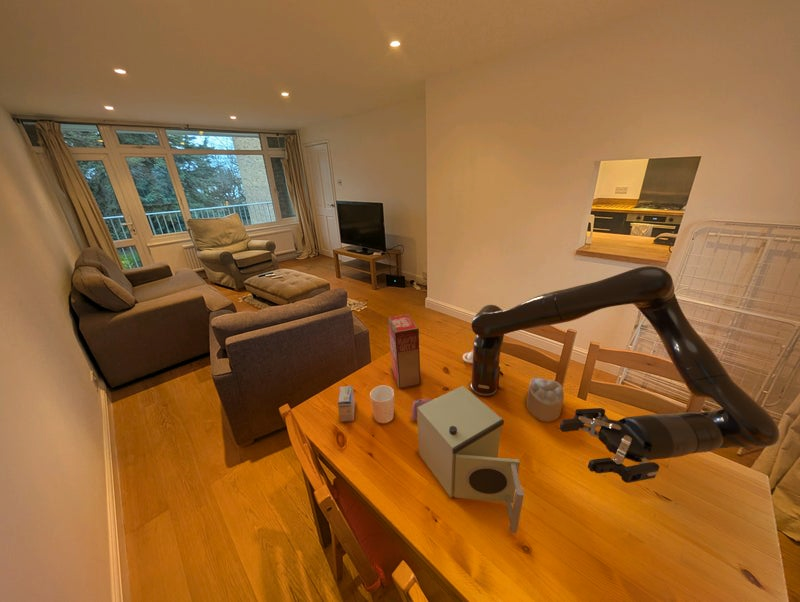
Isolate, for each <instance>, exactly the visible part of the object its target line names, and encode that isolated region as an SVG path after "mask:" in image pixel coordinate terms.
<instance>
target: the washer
mask: <svg viewBox="0 0 800 602" xmlns="http://www.w3.org/2000/svg"><path fill="white" fill-rule="evenodd" d="M416 419H417V443H418V445H417V448H418V455H419V456H420V459H422V461H423V462H424V463H425V465H426V466H427V467H428V469H429V470H430V472H431V473H432V474H433V475H434V477H435V478H436V479H437V481H438V482H439V484H440V486H441V487H442V488H443V489H444V491H445V492H446V494H447V495H448V496H449V497H450V498H451V499H452V498H453V497H454V490H455V465H456V454H460V455H472V456H484V457H496V458H499V450H500V441H501V433H502V426H504V424H505V420H504V419H503V418H502V417H501V416H500V415H498V414H497V412H495V411H494V410H493V409H492V408H490V407H489V406H488V405H486V403H484V402H483V401H482V400H480V398H478V397H477V396H476V395H475V394H474V393H473V392H471V391H470V390H469V389H468V388H467V387H465V386H464V385H461V386H459V387H456V388H454V389H453V390H450V391H449V392H446V393H444V394H442V395H440V396H438V397H436V398H434V399H432V400H431V401H429V402H427V403H425V404H423V405H421V406H419V407H417V415H416Z"/></svg>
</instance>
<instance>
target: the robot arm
mask: <svg viewBox="0 0 800 602" xmlns="http://www.w3.org/2000/svg"><path fill="white" fill-rule="evenodd" d="M625 305H634V306H635V307H636V308H637V309H638V310H639V312H640V313H641V314H642V315H643V316H644V317H645V318H646V319H647V321H648V322H649V323H650V325H651V326H652V328H653V329H654V331H655V333H656V335H657V336H658V337H659V339H660V341H661V343H662V345H663V347H664V348H665V351H666V353H667V355H668V357H669V359H670V361H671V362H672V364H673V366H674V368H675V369H676V372H677V373H678V374H679V376H680V378H681V380H682V382H683V383H684V384H685V386H686V387H687V389H688V391H689V392H690V394H691V395H693V396H694V397H696V398H701V399H703V398H704V399H711V400H713V401H714V402H715V403H716V404H718V406H720V408H718V409H717V408H716V409H712V410H705V411H700V412H693V411H692V412H689V411H687V412H677V413H653V414H645V415H644V414H643V415H634V416H625V417H623V418H620V419H618V420H614V419H610V418H609V417H608V416H607V415H606V409H605V408H603V407H593V408H577V409H575V412H574V416H573V418H567V419H562V420H561V421H560V424H559V430H560V432H561V433H568V432H575V431H579V430H580V431H583V432H586V433H588V434H589V436H592V437H594V438H597V439H598V440H599V441H600V442H601V443H602V444H603V445H604V446H605V448H606V449H607V450H608V452H609V453H612V454H613V455H614V457H613V459H612V457H601V458H592V459H590V460H589V461H588V464H587V468H588V470H589V472H593V473H595V474H608V473H613V474H617V475H618V476H619V477H621V480H622V481H623V482H624V483H626V484H631V483H636V482H642V481H646V480H652V479H655V478H656V477H657V475H658V472H659V470H660V465H659V464H658V463H657V462H654V461H655V460H664V459H671V458H672V459H673V458H680V457H685V456H688V455H693V454H702V453H703V454H704V453H709V452H714V451H716V450H718V449H719V450H720V449H742V448H743V449H744V448H745V449H746V448H766V447H772V446H774V445H776V444H778V442H779V440H780V435H781V434H780V429H779V426H778V424H777V422H776V421H775V419H774V418H773V417H772V415H771V414H770V413H769V412H768V411H767V410H766V409H765V408H764V407H763V406H762V405H761V404H759V402H757V401H756V400H755V399H754V398H753V397H752V396H750V395H749V394H748V392H746V391H745V390H744V389H743V388H741V386H739V385H738V384H737V383H736V382H735V381H734V380H733V379H732V377H731V375H730V374H729V373H728V372H727V369H726V368H725V367H724V365H723V364H722V362H721V361H720V359H719V358H718V357H717V355H716V354H715V352H714V351H713V350H712V349H711V347H710V346H709V345H708V344H707V342H706V341H705V340H704V339H703V338H702V336H700V334H699V333H698V332H697V331H696V330H695V328H694V327H693V326H692V324H691V323H690V322H689V320H688V319H687V317H686V315H685V314H684V312H683V310H682V308H681V306H680V304H679V301H678V299H677V296H676V293H675V283H674V279H673V277H672V275H671V274H670V273H669V271H667V270H666V269H664V268H662V267H659V266H654V265H653V266H652V265H651V266H650V265H646V266H640V267H636V268H632V269H630V270H627V271H624V272H621V273H618V274H615V275H612V276H609V277H606V278H604V279H601V280H597V281H593V282H588V283H585V284H581V285H576V286H572V287H568V288H564V289H563V288H562V289H558V290H554V291H550V292H546V293H542V294H539V295H536V296H534V297H532V298H529V299H527V300H526V301H523V302H521V303H519V304H517V305H515V306H513V307H510V308H507V309H504V310H503V309H502V308H501V307H500V306H498V305H495V304H486V305H484V306H483V307H482V308H481V309H479V310H478V312H477V313H476V314H475V315H474V317H473V318H472V321H471V330H472V332H473V333H474V334H475V337H474V341H473V346H472V348H473V349H472V350H473V363H472V364H471V366H472V367H471V379H470V381H471V382H470V389H471V391H472V393H473V394H476V395H478V396H481V397H492V396H494V395H495V394H496V393H497V391H498V389H499V385H500V377H501V376H504V375H505V374H504V373H503V372H502V371H501V366H500V359H501V350H502V346H503V343H504V339H505V338H504V337H505V335H506V334H509V333H513V332H517V331H524V330H529V329H535V328H541V327H547V326H553V325H558V324H564V323H568V322H572V321H576V320H579V319H582V318H585V317H586V316H588V315H590V314H592V313H595V312H597V311H599V310H603V309H606V308H612V307H618V306H625ZM597 427H600V428H599V431H598V430H596V429H597ZM625 459H626V460H629V461H632V462H635V463H639V464H634V465H628V466H626V465H625V464H623V463H624V461H625Z"/></svg>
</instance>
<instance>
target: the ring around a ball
mask: <svg viewBox="0 0 800 602" xmlns="http://www.w3.org/2000/svg"><path fill="white" fill-rule="evenodd" d="M462 360H463V361H464V362H465V363H467V364H471V365H472V363H473V349H471V351H470V352H465V353H464V354H463V355H462Z"/></svg>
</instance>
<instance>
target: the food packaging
mask: <svg viewBox="0 0 800 602" xmlns="http://www.w3.org/2000/svg"><path fill="white" fill-rule="evenodd" d="M387 323H388V324H387V325H388V334H389V345H390V355H391V367H392V368H391V370H392V373H393V376H394V379H395V381H396V384H397V386H398V389H400V390H401V389H406V388H411V387H416V386H420V385H421V384H422V380H421V356H420V333H419V332H420V330H419V327H418V326H417V324H416V323H415V321H414V320H413V318H412V316H411V315H410V313H404V314H399V315H393V316H388V317H387Z"/></svg>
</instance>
